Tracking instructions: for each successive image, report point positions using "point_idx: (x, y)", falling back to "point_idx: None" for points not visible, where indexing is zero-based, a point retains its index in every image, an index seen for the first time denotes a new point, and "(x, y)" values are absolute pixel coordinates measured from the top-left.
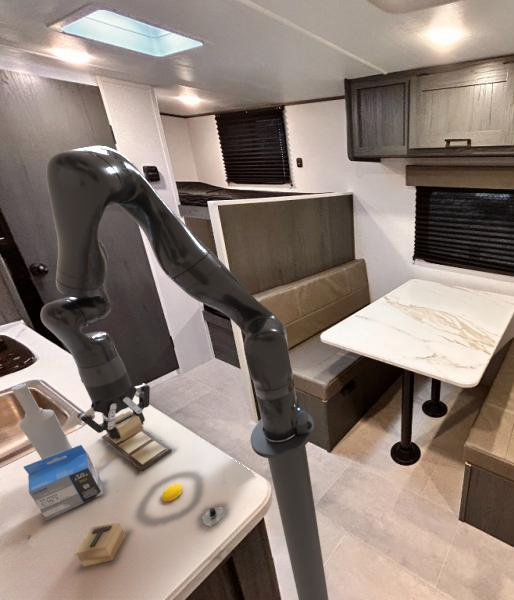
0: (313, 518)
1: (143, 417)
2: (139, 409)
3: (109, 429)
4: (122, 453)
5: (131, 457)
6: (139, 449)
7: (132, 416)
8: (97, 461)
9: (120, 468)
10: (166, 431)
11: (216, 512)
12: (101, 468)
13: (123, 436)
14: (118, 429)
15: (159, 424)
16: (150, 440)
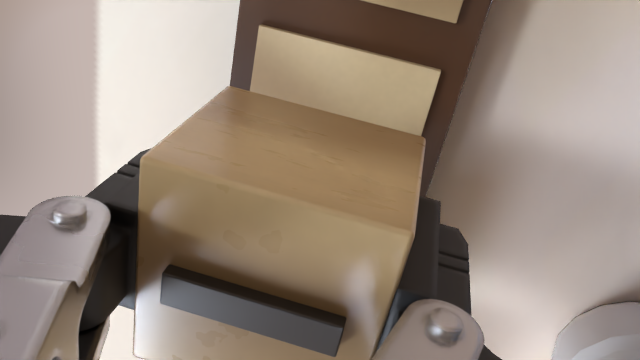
0: None
1: (129, 166)
2: (41, 232)
3: (468, 318)
4: (448, 126)
5: (468, 7)
6: (379, 21)
7: (175, 245)
8: (524, 254)
9: (560, 23)
10: (154, 13)
11: None
12: (579, 172)
13: (405, 151)
14: (411, 223)
15: (135, 136)
16: (274, 24)
